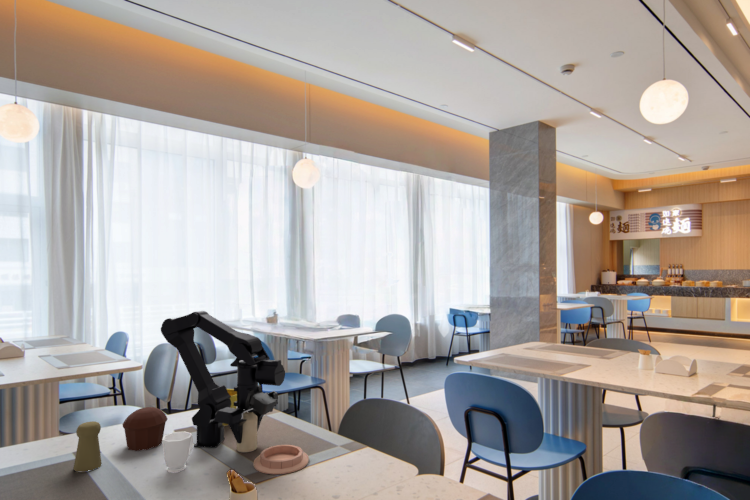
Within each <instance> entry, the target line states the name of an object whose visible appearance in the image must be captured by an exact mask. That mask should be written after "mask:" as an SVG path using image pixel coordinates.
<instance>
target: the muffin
mask: <svg viewBox="0 0 750 500" xmlns="http://www.w3.org/2000/svg"><path fill="white" fill-rule="evenodd" d="M167 421H168V417H167V415H166V414H165V412H164V411H163V410H162V409H160V408H157V407H154V406H147V407H146V406H145V407H142V408H138V409H136V410H135V411H133V412H131V414H129V415H127V416H126V418H125V420H124V421H123V423H122V427H123V429H124V433H125V434H124V435H125V441H126V447H127V450H128V451H132V452H133V451H134V452H139V451H148V450H150V449H154V448H157V447H159V446H160V445H161V444H163V443H162V439H163V437H164V432H165V427H166V423H167Z"/></svg>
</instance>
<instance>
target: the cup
mask: <svg viewBox="0 0 750 500" xmlns="http://www.w3.org/2000/svg"><path fill="white" fill-rule="evenodd" d="M161 444H162V449H163V450H162V451H163V458H164V461H165V466H166V467H167V469H166V471H167V472H168V473H171V474H173V473H181V472H182V471H185V469H186V467H187V465H186V463H187V462H188V460H189V457H190V456H191V453H192V451H193V448H194V438H193V434H192V433H191V432H188V431H184V430H183V431H173V432H170V433H168V434H165V435H163V439H162V443H161Z"/></svg>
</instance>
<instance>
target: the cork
mask: <svg viewBox="0 0 750 500" xmlns="http://www.w3.org/2000/svg"><path fill="white" fill-rule="evenodd" d="M101 428H102V426H101V424H100V422H99V421H96V420H95V421H86V422H82V423H80V424H79V425H78V426H77V428H76V431H75V432H76V434H75V435H76V436H77V438H78V441H77V448H76V454H75V459H74V463H73V464H74V465H73V469H74V470H75V471H88V470H92V471H94V470H93V469H95V468H97V469H99V468H100V467H102V465H101V464H103V463H102V457H101V448H100V440H99V434H100V432H101ZM98 467H99V468H98ZM95 470H96V469H95Z"/></svg>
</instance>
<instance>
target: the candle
mask: <svg viewBox="0 0 750 500" xmlns="http://www.w3.org/2000/svg"><path fill="white" fill-rule="evenodd" d="M243 419H247V420H246V421H245V423H244V424H243V431H242V442H241V443H237V442H236V451H237V452H239V453H250V452H251V453H252V452H253V451H255V450H257V448H258V431H257V416H256V415H255V414H254V413H253V412H246V413H243Z"/></svg>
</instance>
